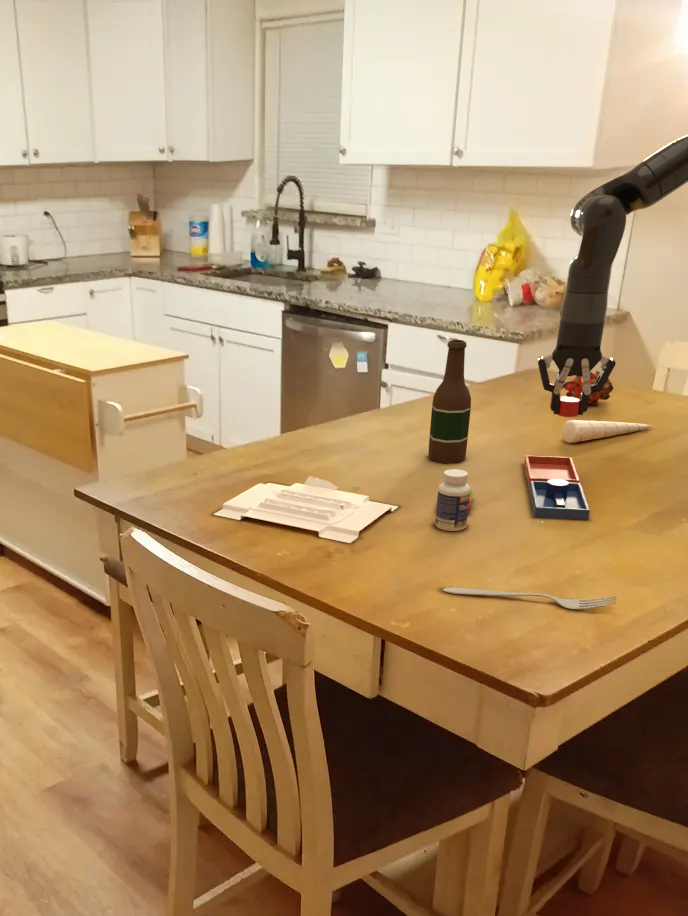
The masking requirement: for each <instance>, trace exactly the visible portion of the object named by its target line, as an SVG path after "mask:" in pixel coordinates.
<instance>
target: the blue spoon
mask: <svg viewBox="0 0 688 916" xmlns="http://www.w3.org/2000/svg"><path fill="white" fill-rule="evenodd" d="M568 486H569V482H568V481H565V480H561V479H551V480H548V481H547V487H546V494H545V497H546V498H548V499H552V500H553V502H554V506H555V507H556V508H565V502H564V499H566V498H567V493H568Z"/></svg>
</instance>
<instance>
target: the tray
mask: <svg viewBox="0 0 688 916" xmlns="http://www.w3.org/2000/svg"><path fill="white" fill-rule="evenodd" d="M398 507H399V506H398V505H392V504H388V503H382V502H376V501H371V500H370V496H369V495H366V494H365V495H364V494H360V493H355V492H354V493H353V492H349V491H343V490H338V486H337V485H336V484H333V483H332V482H330V481H328V480H326V479H321V478H319V477H315V476H312V475H309V476H308V477H307V479H305V482H302V483H299V482H295V483H293V484H292V485H290V486H289V485H283V484H277V483H273V482H267V483H262V482H261V483H260V482H259V483H257V484H256V485H254V486H251V487H250V488H249V489H247V490H245V491H243V492H242V493H241V492H240V494H238V495H236V496H234V497H233V498H231V499H229V500H227V501H225V502H224V503H222V508H221V509H220V510H218V511H216V512H215V513H213V515H214V516H218V517H224V518H227V519H233V520H237V521H241V520H243V519H244V518H245V517H247V518H252V519H257V520H262V521H267V522H271V523H276V524H280V525H286V526H290V527H296V528H300V529H306V530H310V531H314V532H315V531H316V532H318V537H319V538H324V539H328V540H332V541H333V540H334V541H338V542H343V543H348V544H351V543H352V542H354V541H355V540H357V539H358V538H359V536H360V531H362V530H363V529H364V528H366V527H368V525H370V524H372V522H374V521H375V520H377V519H378V518H379V517H380V516H382V515H383V514H385V513H386V512H394V511H395V510H396V509H398Z"/></svg>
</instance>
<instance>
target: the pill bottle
mask: <svg viewBox="0 0 688 916" xmlns="http://www.w3.org/2000/svg"><path fill="white" fill-rule="evenodd" d="M468 477H469V473H468V472H467V471H466V470H462V469H457V468H453V469H452V468H451V469H446V470H444V472H443V476H442V479H443V482H442V483H440V484H439V486H438V489H437V497H436V498H437V499H436V510H435V523H434V525H435V527H436V528H438V529H440V530H442V531H449V532H459V531H463V530H464V529H466V527H467V524H468V517H469V516H468V515H469V513H468V508H469V499H470V490H471V486H470V485H469V484H468V483H467V482H468Z"/></svg>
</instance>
